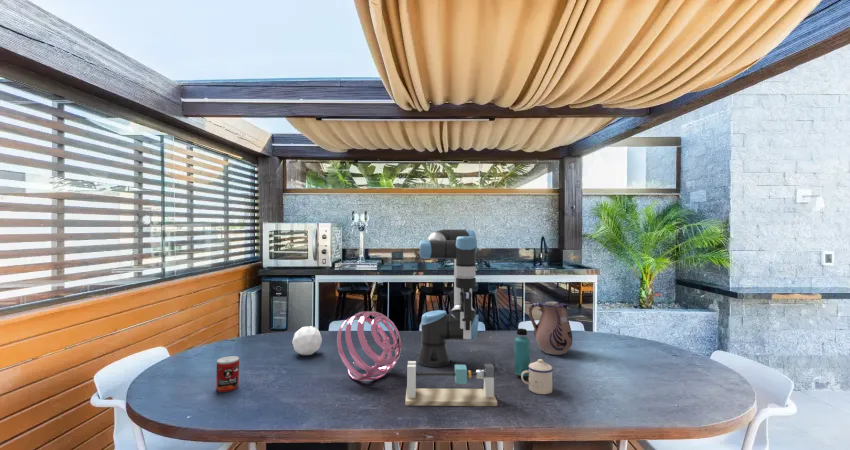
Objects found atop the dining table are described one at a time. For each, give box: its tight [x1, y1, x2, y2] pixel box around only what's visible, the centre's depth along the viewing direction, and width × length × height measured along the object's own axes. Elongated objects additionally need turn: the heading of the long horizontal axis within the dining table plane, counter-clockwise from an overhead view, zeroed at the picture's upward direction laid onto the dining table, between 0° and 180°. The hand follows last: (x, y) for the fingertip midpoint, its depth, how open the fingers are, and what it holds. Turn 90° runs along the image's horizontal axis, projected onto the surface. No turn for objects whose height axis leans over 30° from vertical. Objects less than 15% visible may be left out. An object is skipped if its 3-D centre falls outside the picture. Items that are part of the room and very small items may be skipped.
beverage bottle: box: [513, 328, 531, 377], centre depth 159 cm, size 6×7×20 cm
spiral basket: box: [336, 311, 402, 382], centre depth 159 cm, size 28×28×27 cm
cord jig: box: [404, 360, 498, 407], centre depth 137 cm, size 32×11×12 cm, turn 90°
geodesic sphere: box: [291, 325, 323, 356], centre depth 188 cm, size 15×14×14 cm
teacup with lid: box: [520, 358, 554, 395], centre depth 146 cm, size 12×9×12 cm
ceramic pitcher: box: [528, 301, 573, 356], centre depth 193 cm, size 18×21×25 cm
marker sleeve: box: [454, 364, 468, 385], centre depth 137 cm, size 4×5×5 cm
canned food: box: [215, 355, 240, 393], centre depth 145 cm, size 8×8×11 cm
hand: (465, 333), depth 143 cm, fingers open, 13 cm apart
